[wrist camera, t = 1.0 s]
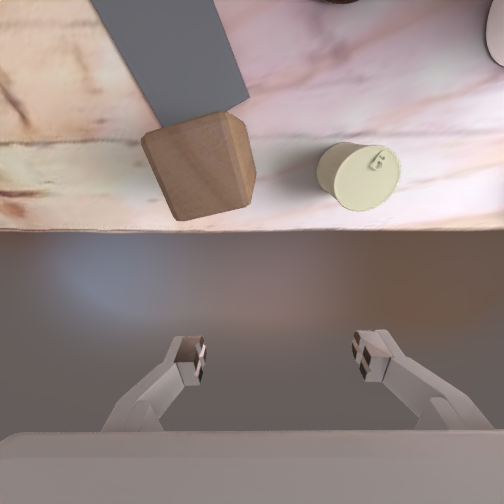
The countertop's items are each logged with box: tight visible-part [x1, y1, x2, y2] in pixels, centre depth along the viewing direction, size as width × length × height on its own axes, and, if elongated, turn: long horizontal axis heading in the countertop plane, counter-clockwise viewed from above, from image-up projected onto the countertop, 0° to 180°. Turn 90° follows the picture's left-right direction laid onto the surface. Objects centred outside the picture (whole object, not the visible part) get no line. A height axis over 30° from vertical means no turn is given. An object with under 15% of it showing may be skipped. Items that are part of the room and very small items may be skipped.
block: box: [141, 110, 256, 221], centre depth 32 cm, size 10×10×20 cm
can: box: [316, 142, 401, 211], centre depth 35 cm, size 9×9×12 cm
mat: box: [91, 0, 249, 128], centre depth 33 cm, size 16×22×1 cm
